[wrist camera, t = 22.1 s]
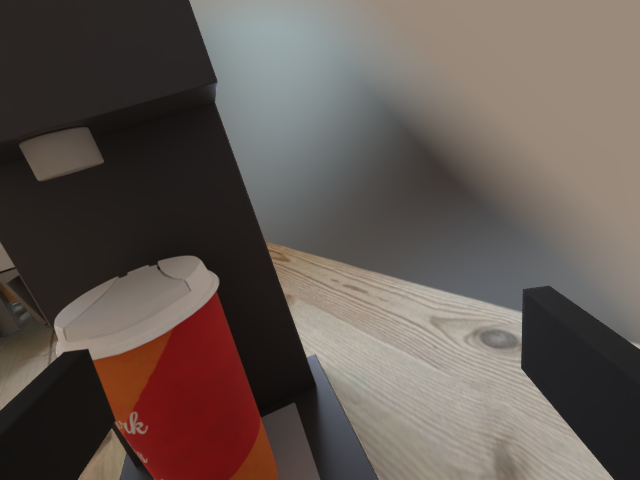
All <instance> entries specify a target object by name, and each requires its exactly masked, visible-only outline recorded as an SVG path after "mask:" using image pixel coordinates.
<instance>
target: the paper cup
mask: <svg viewBox="0 0 640 480" xmlns="http://www.w3.org/2000/svg"><path fill="white" fill-rule="evenodd" d="M158 265H159V267H160V270H158V268H157V267H158ZM158 265H154V266H151V267H150V266H149V265H146V266H144V267H141V268H138V269H136V270H133V271H130V272H128V273H127V274H128V275H127V276H124V277H122V278H119V277H118V276H117V277H115V278H113V279H111V280H109V281H107V282H105V283H103V284H101V285H99V286H97V287H95V288H93V289H92V290H90V291H88V292H86V293H85V294H83V295H82V296H80V297H79V298H77V299H76V300H74V301H73V302H71V303H70V304H69V305H67V306H66V307H65V308H64V309H63V310H62V311H61V312H60V313H59V314H58V315H57V317H56V319H55V322H54V329H55V332H56V335H57V337H58V342H57V344H56V355H57V357H59V356H60V355H61V354H62V353H63V352H67V351H74V350H82V349H89V352H90V355H91V357H92V360H93V362H94V365H95V368H96V370H97V373H98V375H99V378H100V381H101V383H102V386H103V388H104V391H105V394H106V396H107V399H108V401H109V404H110V407H111V409H112V412H113V414H114V417H115V420H116V422H115V425H116V426H117V427H118V429H119V430H120V432H121V433H122V435H123V436H124V437H125V439H126V440H127V442H128V443H129V444H130V446H131V447H132V449H133V450H134V452H135V453H136V454H137V456H138V457H139V459H140V460H141V461H142V463H143V464H144V466H145V467H146V468H147V470H148V471H149V473H150V474H151V475H152V477H153V478H154V480H278V473H277V466H276V463H275V459H274V456H273V453H272V449H271V446H270V443H269V440H268V437H267V434H266V431H265V428H264V425H263V423H262V420H261V417H260V414H259V411H258V408H257V405H256V402H255V399H254V396H253V394H252V391H251V388H250V385H249V382H248V379H247V376H246V374H245V371H244V368H243V365H242V362H241V359H240V356H239V354H238V351H237V348H236V345H235V342H234V339H233V337H232V334H231V331H230V328H229V325H228V322H227V319H226V317H225V314H224V311H223V308H222V305H221V302H220V299H219V297H218V294H217V291H216V290H217V289H218V286H219V278H218V277H217V275H215V274H214V273H213V272H211V271H209V270H207V269H206V267H205V265H204V264H203V262H202V261H201V260H200V259H199V258H197V257H195V256H178V257H172V258H168V259H164V260H160V261H158Z"/></svg>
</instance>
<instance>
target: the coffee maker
mask: <svg viewBox="0 0 640 480" xmlns="http://www.w3.org/2000/svg"><path fill="white" fill-rule="evenodd" d="M216 89H217V78H216V76H215V73H214V70H213V67H212V64H211V61H210V58H209V56H208V53H207V50H206V47H205V44H204V41H203V39H202V36H201V33H200V30H199V27H198V25H197V22H196V19H195V16H194V13H193V10H192V7H191V4H190V2H189V0H0V243H1V244H2V246H3V248H4V249H5V251H6V253H7V254H8V256H9V258H10V259H11V261H12V263H13V264H14V266H15V268H16V269H17V271H18V273H19V274H20V276H21V278H22V279H23V281H24V283H25V284H26V286H27V288H28V289H29V291H30V293H31V294H32V296H33V298H34V299H35V301H36V303H37V304H38V306H39V308H40V309H41V311H42V313H43V314H44V316H45V318H46V319H47V321H48V322H49V324H50V326H51V327H52V329H53V331H54V332H55V329H54V322H55V319H56V317H57V315H58V314H59V313H60V312H61V311H62V310H63V309H64V308H65V307H66V306H67V305H69V304H70V303H71V302H73V301H74V300H76V299H77V298H79V297H80V296H82V295H83V294H85V293H86V292H88V291H90V290H92V289H93V288H95V287H97V286H99V285H101V284H103V283H105V282H107V281H109V280H111V279H113V278H115V277H117V276H118V277H119V278H122V277H124V276H127V275H128V274H127V273H128V272H130V271H133V270H136V269H138V268H141V267H144V266H146V265H149V266H150V267H151V266H154V265H158V261H160V260H164V259H168V258H172V257H178V256H195V257H197V258H199V259H200V260H201V261H202V262H203V264H204V265H205V267H206V269H207V270H209V271H211V272H213V273H214V274H215V275H217V277H218V278H219V286H218V289H217V290H216V291H217V294H218V297H219V299H220V302H221V305H222V308H223V311H224V314H225V317H226V319H227V322H228V325H229V328H230V331H231V334H232V337H233V339H234V342H235V345H236V348H237V351H238V354H239V356H240V359H241V362H242V365H243V368H244V371H245V374H246V376H247V379H248V382H249V385H250V388H251V391H252V394H253V396H254V399H255V402H256V405H257V408H258V411H259V414H260V417H261V420H262V423H263V425H264V428H265V431H266V434H267V437H268V440H269V443H270V446H271V449H272V453H273V456H274V459H275V463H276V466H277V473H278V480H379V479H378V477H377V475H376V473H375V471H374V469H373V467H372V465H371V463H370V461H369V459H368V458H367V456H366V454H365V452H364V450H363V448H362V446H361V444H360V442H359V440H358V438H357V436H356V434H355V432H354V430H353V428H352V426H351V424H350V422H349V420H348V418H347V416H346V414H345V412H344V410H343V408H342V406H341V404H340V402H339V400H338V398H337V396H336V394H335V392H334V390H333V388H332V386H331V384H330V382H329V380H328V378H327V376H326V374H325V372H324V370H323V368H322V366H321V364H320V362H319V360H318V359H317V357H316V355H315V354H314V355H311V356H309V357H306V354H305V352H304V349H303V346H302V343H301V340H300V338H299V335H298V332H297V329H296V327H295V324H294V321H293V318H292V315H291V313H290V310H289V307H288V304H287V301H286V299H285V296H284V293H283V290H282V288H281V285H280V282H279V279H278V276H277V274H276V271H275V268H274V265H273V263H272V260H271V257H270V254H269V251H268V249H267V246H266V243H265V240H264V238H263V235H262V232H261V229H260V227H259V224H258V221H257V218H256V215H255V212H254V210H253V207H252V204H251V201H250V199H249V196H248V193H247V191H246V188H245V185H244V182H243V179H242V176H241V174H240V171H239V168H238V166H237V162H236V160H235V157H234V154H233V151H232V149H231V146H230V143H229V140H228V138H227V135H226V132H225V129H224V126H223V124H222V121H221V118H220V115H219V112H218V110H217V107H216V104H215V97H216ZM157 268H158V270H160V267H159V265H158V267H157ZM55 334H56V332H55ZM56 336H57V335H56ZM112 429H113V430H114V432H115V434H116V435H117V437H118V439H119V440H120V442H121V444H122V445H123V447H124V449H125V450H126V452H127V454H126V458H125V461H124V465H123V469H122V473H121V476H120V480H154V478H153V477H152V475H151V474H150V473H149V471H148V470H147V468H146V467H145V466H144V464H143V463H142V461H141V460H140V459H139V457H138V456H137V454H136V453H135V452H134V450H133V449H132V447H131V446H130V444H129V443H128V442H127V440H126V439H125V437H124V436H123V435H122V433H121V432H120V430H119V429H118V427H117V426H116V425H115V423H114V425H113V426H112Z"/></svg>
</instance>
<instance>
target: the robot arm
mask: <svg viewBox="0 0 640 480" xmlns="http://www.w3.org/2000/svg"><path fill="white" fill-rule="evenodd" d="M521 369H522V370H523V371H524V372H525V373H526V375H527V376H528V377H529V378H530V379H531V381H532V382H533V383H534V384H535V385H536V387H537V388H538V389H539V390H540V391H541V393H542V394H543V395H544V396H545V397H546V399H547V400H548V401H549V402H550V403H551V404H552V406H553V407H554V408H555V409H556V410H557V412H558V413H559V414H560V415H561V416H562V418H563V419H564V420H565V421H566V422H567V424H568V425H569V426H570V427H571V428H572V430H573V431H574V432H575V433H576V434H577V436H578V437H579V438H580V439H581V440H582V442H583V443H584V444H585V445H586V446H587V448H588V449H589V450H590V451H591V452H592V454H593V455H594V456H595V457H596V458H597V460H598V461H599V462H600V463H601V464H602V466H603V467H604V468H605V469H606V470H607V472H608V473H609V474H610V475H611V476H612V478H613V479H614V480H640V349H638V348H637V347H636V346H634V345H633V344H631V343H630V342H628V341H627V340H626V339H624V338H623V337H621V336H620V335H618V334H617V333H616V332H614V331H613V330H611V329H610V328H609V327H607V326H606V325H604V324H603V323H601V322H600V321H599V320H597V319H596V318H594V317H593V316H591V315H590V314H589V313H587V312H586V311H584V310H583V309H581V308H580V307H579V306H577V305H576V304H574V303H573V302H572V301H570V300H569V299H567V298H566V297H565V296H563V295H562V294H560V293H559V292H557V291H556V290H554V289H553V288H552V287H550V286H544V287H536V288H529V289H523V309H522V353H521ZM115 422H116V420H115V417H114V414H113V412H112V409H111V407H110V404H109V401H108V399H107V396H106V394H105V391H104V388H103V386H102V383H101V381H100V378H99V375H98V373H97V370H96V368H95V365H94V362H93V360H92V357H91V355H90V352H89V349H82V350H74V351H67V352H63V353H62V354H61V355H60V356H59V357H58V358H57V359H56V360H54V361H53V362H52V363H51V364H50V365H49V366H48V367H47V368H46V369H45V370H44V371H43V372H42V373H40V374H39V375H38V376H37V377H36V378H35V379H34V380H33V381H32V382H31V383H30V384H29V385H27V386H26V387H25V388H24V389H23V390H22V391H21V392H20V393H19V394H18V395H17V396H16V397H15V398H13V399H12V400H11V401H10V402H9V403H8V404H7V405H6V406H5V407H4V408H3V409H2V410H0V480H78V478H79V477H80V475H81V474H82V472H83V471H84V469H85V467H86V466H87V464H88V463H89V461H90V460H91V458H92V457H93V455H94V454H95V452H96V451H97V449H98V448H99V446H100V445H101V443H102V442H103V440H104V439H105V437H106V436H107V434H108V432H109V431H110V429H111V428H112V426H113V425H114V423H115Z"/></svg>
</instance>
